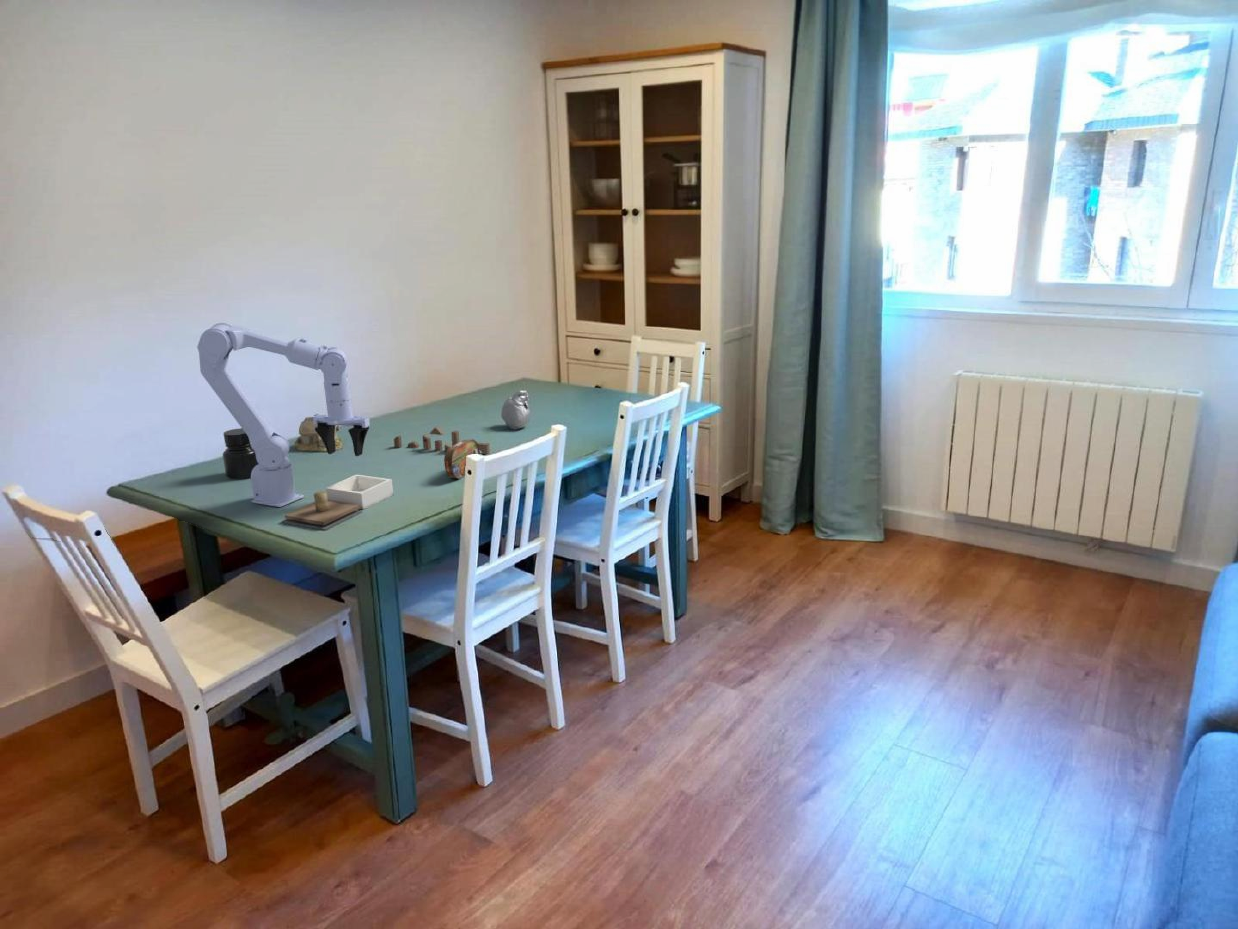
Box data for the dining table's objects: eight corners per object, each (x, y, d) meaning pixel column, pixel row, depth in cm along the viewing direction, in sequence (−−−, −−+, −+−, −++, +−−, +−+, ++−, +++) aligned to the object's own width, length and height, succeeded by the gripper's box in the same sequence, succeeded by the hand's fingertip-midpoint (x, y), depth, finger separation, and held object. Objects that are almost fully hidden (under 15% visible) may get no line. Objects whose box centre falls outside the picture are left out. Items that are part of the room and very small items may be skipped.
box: (327, 503, 207) (325, 488, 206) (358, 489, 217) (356, 474, 216) (363, 509, 203) (361, 493, 202) (393, 494, 212) (391, 479, 211)
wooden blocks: (492, 454, 246) (490, 428, 244) (487, 457, 243) (486, 431, 241) (399, 445, 255) (397, 421, 253) (394, 448, 252) (392, 423, 250)
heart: (498, 423, 275) (496, 388, 269) (527, 419, 277) (526, 385, 272) (504, 436, 266) (502, 400, 261) (534, 433, 269) (533, 397, 263)
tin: (454, 483, 220) (451, 451, 218) (443, 482, 221) (440, 450, 219) (481, 465, 234) (479, 435, 231) (471, 464, 235) (469, 435, 232)
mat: (281, 522, 196) (281, 521, 196) (319, 505, 206) (319, 504, 206) (325, 530, 191) (325, 529, 191) (362, 512, 201) (362, 511, 201)
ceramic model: (349, 441, 260) (345, 409, 257) (338, 452, 250) (334, 418, 246) (302, 442, 260) (297, 410, 257) (289, 453, 249) (284, 420, 246)
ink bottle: (270, 470, 234) (264, 428, 230) (249, 481, 225) (241, 437, 222) (240, 468, 236) (233, 426, 232) (217, 478, 228) (210, 435, 224)
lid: (285, 520, 196) (282, 498, 195) (322, 504, 206) (319, 482, 205) (324, 528, 191) (321, 505, 190) (360, 510, 201) (357, 488, 200)
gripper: (302, 402, 205) (309, 456, 209) (355, 405, 201) (361, 460, 205) (320, 395, 211) (327, 448, 215) (372, 398, 207) (378, 452, 211)
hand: (345, 454), depth 210 cm, fingers open, 7 cm apart
